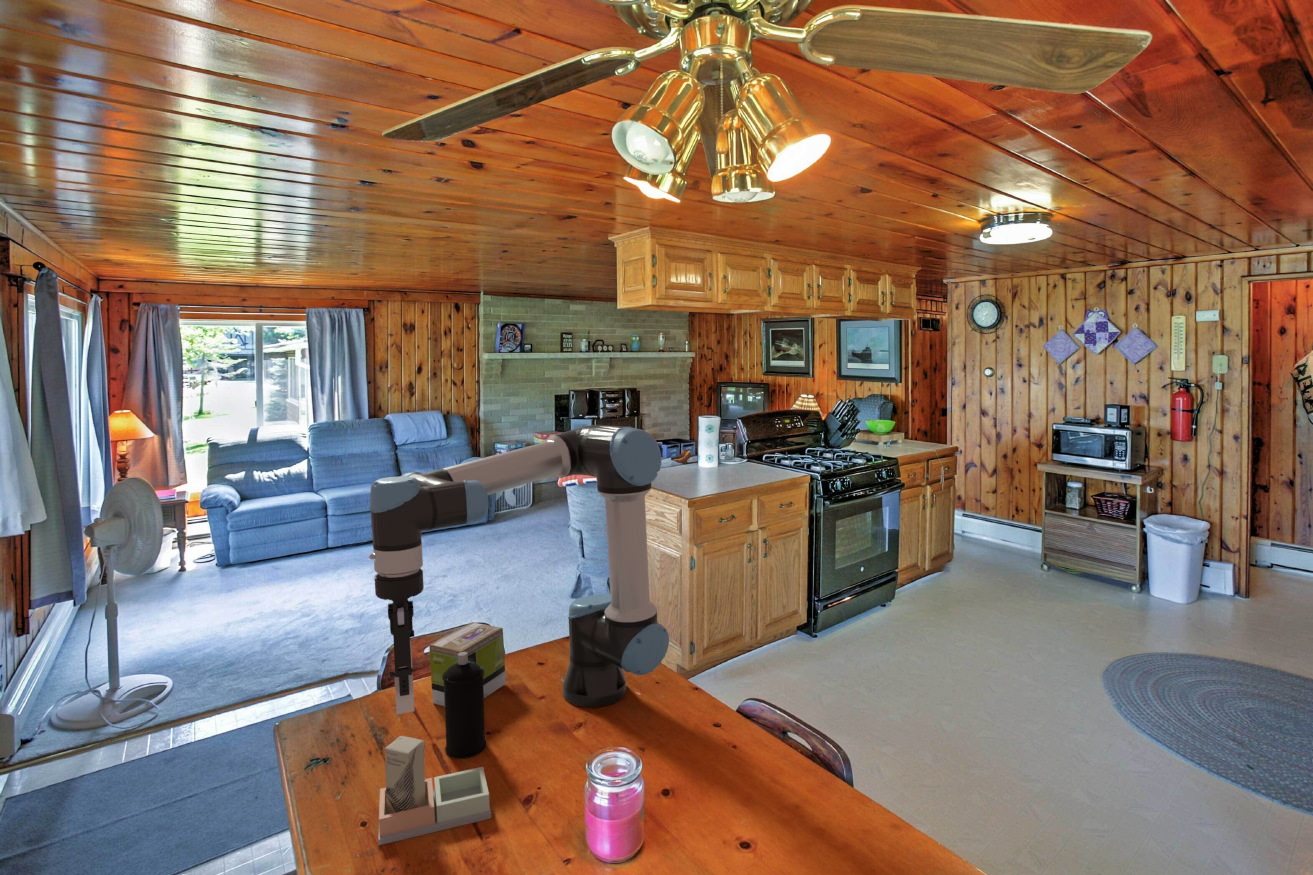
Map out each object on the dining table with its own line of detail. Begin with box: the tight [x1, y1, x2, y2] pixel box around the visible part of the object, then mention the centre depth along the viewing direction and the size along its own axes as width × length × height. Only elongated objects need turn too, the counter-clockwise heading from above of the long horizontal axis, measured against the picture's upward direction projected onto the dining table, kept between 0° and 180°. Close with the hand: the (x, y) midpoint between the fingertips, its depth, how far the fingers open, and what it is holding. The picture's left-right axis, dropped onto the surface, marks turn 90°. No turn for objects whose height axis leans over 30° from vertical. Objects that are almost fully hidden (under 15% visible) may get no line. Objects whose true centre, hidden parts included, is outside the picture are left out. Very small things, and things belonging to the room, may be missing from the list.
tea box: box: [428, 621, 507, 708], centre depth 158 cm, size 15×10×15 cm
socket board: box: [377, 766, 492, 846], centre depth 116 cm, size 18×10×4 cm, turn 111°
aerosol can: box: [442, 652, 488, 760], centre depth 136 cm, size 8×8×20 cm
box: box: [384, 735, 426, 815], centre depth 114 cm, size 5×4×13 cm
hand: (405, 692), depth 113 cm, fingers open, 13 cm apart
